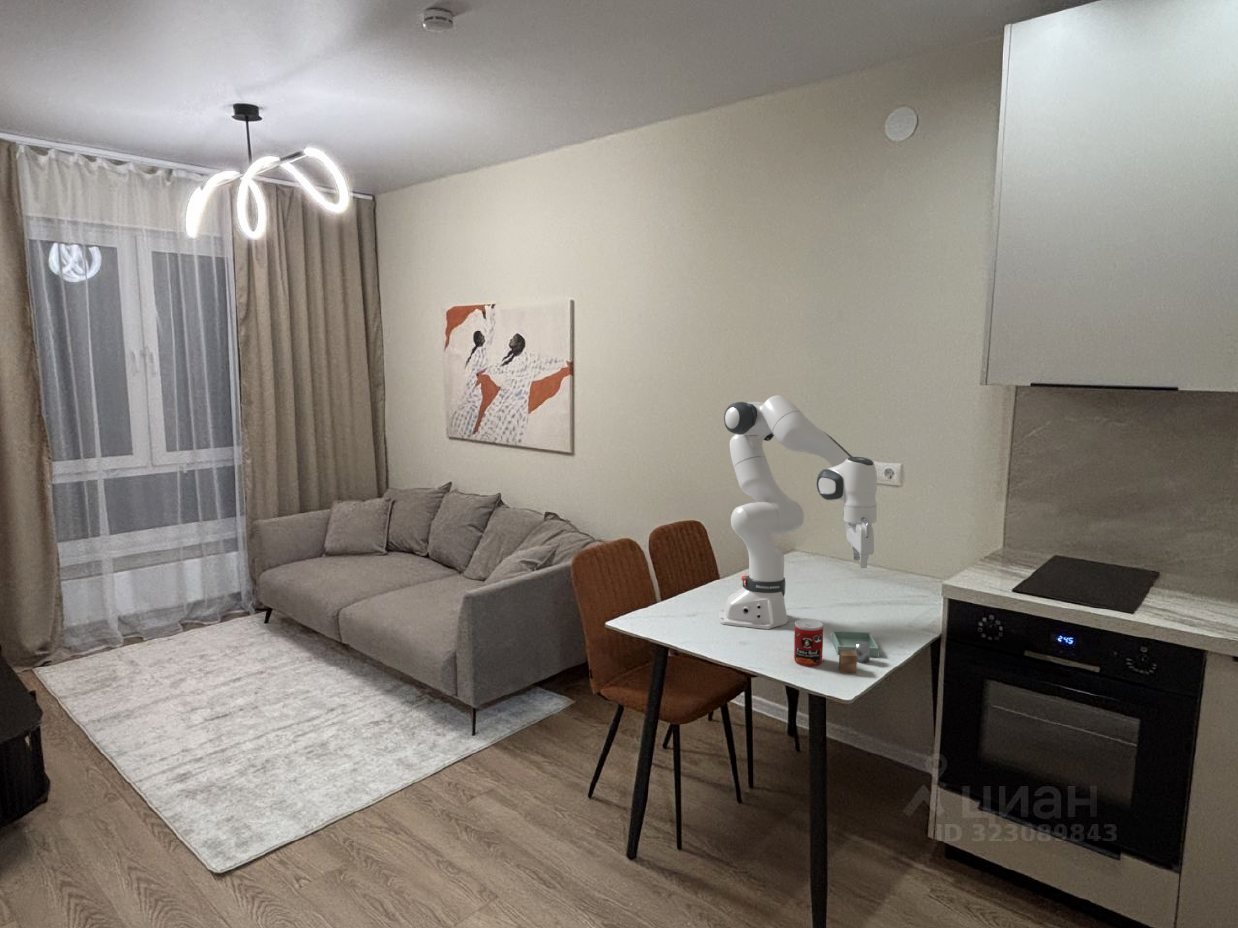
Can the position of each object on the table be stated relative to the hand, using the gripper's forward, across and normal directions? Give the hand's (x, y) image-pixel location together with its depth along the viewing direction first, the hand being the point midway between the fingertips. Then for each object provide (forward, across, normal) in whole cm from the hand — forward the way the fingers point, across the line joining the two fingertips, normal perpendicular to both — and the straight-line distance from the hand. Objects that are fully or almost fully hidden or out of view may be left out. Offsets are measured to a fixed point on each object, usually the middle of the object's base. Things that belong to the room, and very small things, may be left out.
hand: (859, 563), depth 212 cm
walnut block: (+27, -11, +5) cm, 30 cm away
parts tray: (+26, +6, 0) cm, 27 cm away
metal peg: (+27, -4, 0) cm, 27 cm away
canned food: (+27, -6, +15) cm, 31 cm away
